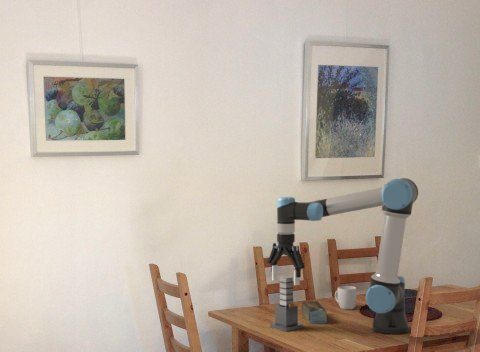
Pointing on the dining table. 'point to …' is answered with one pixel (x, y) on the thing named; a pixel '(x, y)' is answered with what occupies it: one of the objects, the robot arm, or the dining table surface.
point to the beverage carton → (314, 312)
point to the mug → (346, 297)
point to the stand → (286, 318)
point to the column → (286, 291)
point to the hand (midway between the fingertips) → (285, 282)
